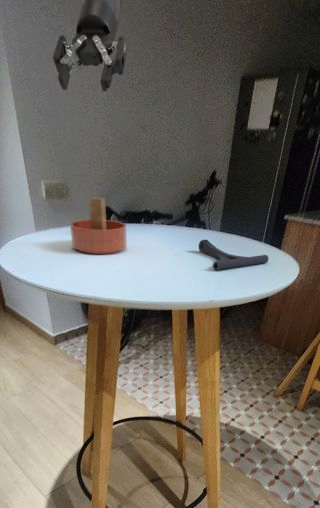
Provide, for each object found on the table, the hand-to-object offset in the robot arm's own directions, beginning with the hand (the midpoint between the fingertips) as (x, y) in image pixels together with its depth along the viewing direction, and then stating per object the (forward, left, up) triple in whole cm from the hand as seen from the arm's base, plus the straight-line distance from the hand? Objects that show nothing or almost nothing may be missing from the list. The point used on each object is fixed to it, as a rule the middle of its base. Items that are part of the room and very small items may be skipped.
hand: (83, 86), depth 73 cm
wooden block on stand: (+4, -6, -28) cm, 29 cm away
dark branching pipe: (+32, -5, -29) cm, 43 cm away
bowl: (+4, -6, -29) cm, 30 cm away
